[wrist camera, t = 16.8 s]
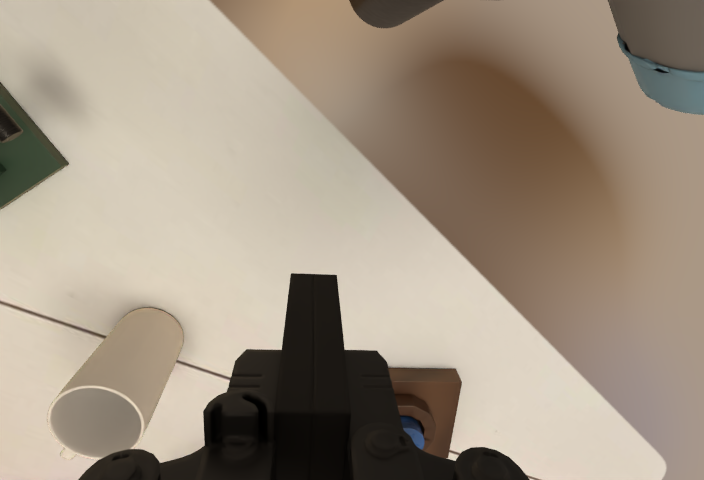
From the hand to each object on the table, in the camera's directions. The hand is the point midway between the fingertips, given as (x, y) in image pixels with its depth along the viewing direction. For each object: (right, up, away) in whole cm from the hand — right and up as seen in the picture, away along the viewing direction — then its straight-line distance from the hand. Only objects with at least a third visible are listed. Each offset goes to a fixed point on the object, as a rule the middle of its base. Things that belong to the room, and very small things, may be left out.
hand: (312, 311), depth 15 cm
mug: (-19, -8, +30) cm, 36 cm away
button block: (+6, -16, +34) cm, 38 cm away
